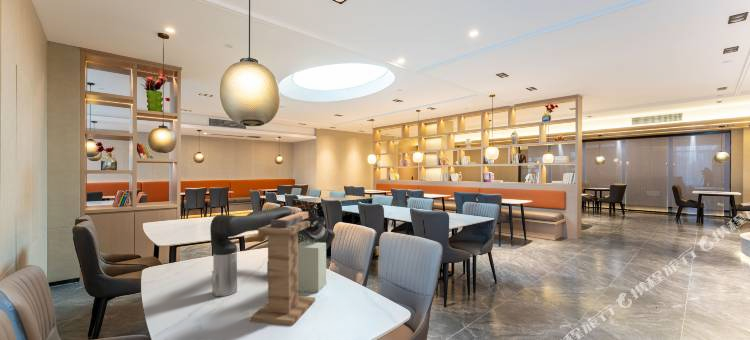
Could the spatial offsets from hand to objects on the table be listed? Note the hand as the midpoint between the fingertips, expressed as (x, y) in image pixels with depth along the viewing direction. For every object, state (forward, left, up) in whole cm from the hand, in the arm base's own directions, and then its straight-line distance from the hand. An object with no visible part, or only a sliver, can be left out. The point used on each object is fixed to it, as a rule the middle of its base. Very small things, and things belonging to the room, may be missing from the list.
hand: (302, 214), depth 135 cm
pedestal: (+6, +5, -34) cm, 35 cm away
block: (-6, -5, -2) cm, 8 cm away
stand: (-12, -10, -34) cm, 37 cm away
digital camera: (+2, +30, -34) cm, 45 cm away
